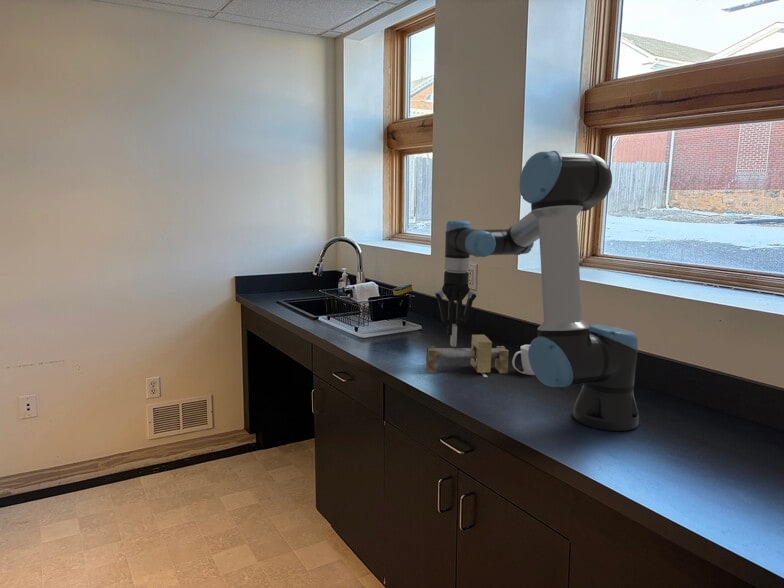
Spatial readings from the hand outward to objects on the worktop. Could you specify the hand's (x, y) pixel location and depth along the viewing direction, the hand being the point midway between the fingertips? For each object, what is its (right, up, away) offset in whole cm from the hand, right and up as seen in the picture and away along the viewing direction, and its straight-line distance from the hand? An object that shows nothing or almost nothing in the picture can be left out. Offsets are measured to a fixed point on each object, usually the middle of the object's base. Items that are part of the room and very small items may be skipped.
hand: (453, 345), depth 189 cm
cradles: (+4, -7, -3) cm, 9 cm away
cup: (+22, -8, -5) cm, 24 cm away
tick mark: (+8, -8, -3) cm, 11 cm away
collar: (+8, -8, -3) cm, 11 cm away
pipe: (+4, -4, -4) cm, 7 cm away
